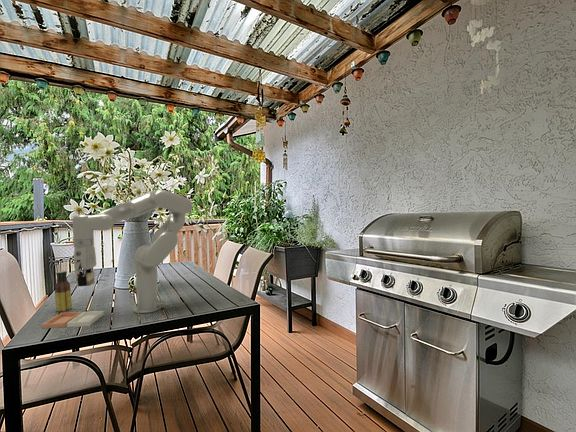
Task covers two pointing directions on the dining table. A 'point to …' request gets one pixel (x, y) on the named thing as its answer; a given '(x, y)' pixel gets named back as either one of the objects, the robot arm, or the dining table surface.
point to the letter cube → (87, 278)
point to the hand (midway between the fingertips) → (85, 283)
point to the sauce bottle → (62, 293)
